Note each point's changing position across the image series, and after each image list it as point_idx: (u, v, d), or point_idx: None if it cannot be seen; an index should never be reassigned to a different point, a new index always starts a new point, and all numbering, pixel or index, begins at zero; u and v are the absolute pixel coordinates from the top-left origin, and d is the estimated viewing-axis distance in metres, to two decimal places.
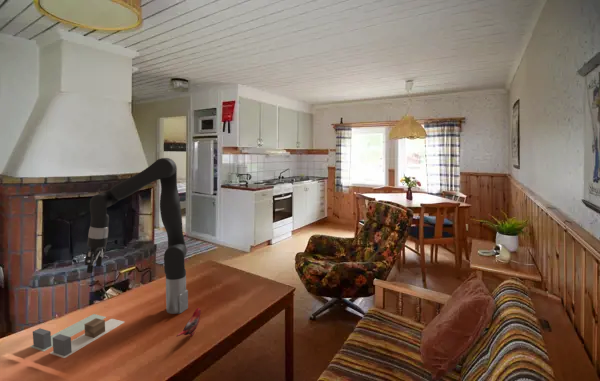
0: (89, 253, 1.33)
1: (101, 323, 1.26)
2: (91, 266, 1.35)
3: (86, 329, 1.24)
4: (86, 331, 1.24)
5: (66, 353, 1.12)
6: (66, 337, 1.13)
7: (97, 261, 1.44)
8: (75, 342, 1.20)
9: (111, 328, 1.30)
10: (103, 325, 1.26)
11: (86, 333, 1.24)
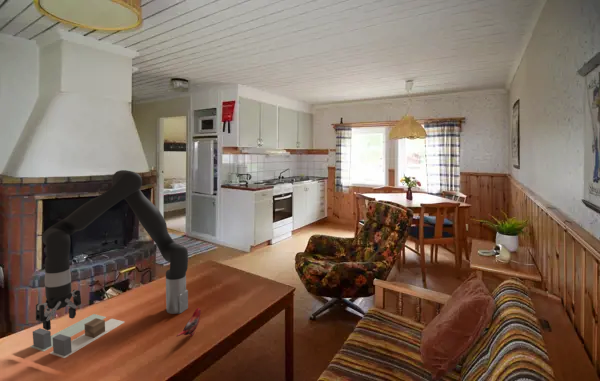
0: (38, 306, 1.05)
1: (101, 323, 1.26)
2: (46, 322, 1.07)
3: (86, 329, 1.24)
4: (86, 331, 1.24)
5: (66, 353, 1.12)
6: (66, 337, 1.13)
7: (69, 312, 1.16)
8: (75, 342, 1.20)
9: (111, 328, 1.30)
10: (103, 325, 1.26)
11: (86, 333, 1.24)
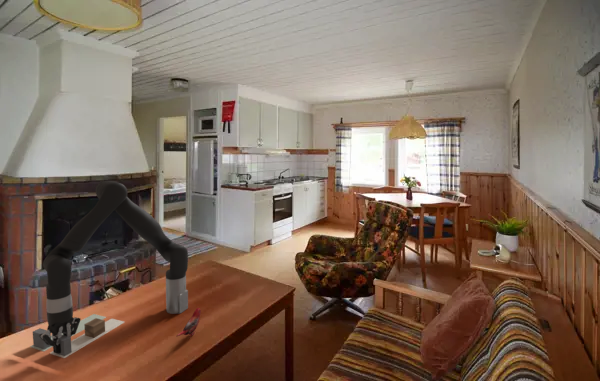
0: (42, 337, 1.06)
1: (101, 323, 1.26)
2: (56, 346, 1.11)
3: (86, 329, 1.24)
4: (86, 331, 1.24)
5: (66, 353, 1.12)
6: (66, 337, 1.13)
7: None
8: (75, 342, 1.20)
9: (111, 328, 1.30)
10: (103, 325, 1.26)
11: (86, 333, 1.24)
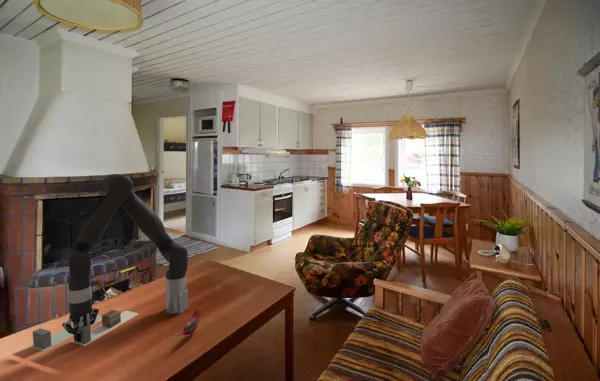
0: (64, 325, 1.14)
1: (117, 314, 1.33)
2: (77, 334, 1.18)
3: (103, 320, 1.31)
4: (103, 322, 1.31)
5: (86, 341, 1.19)
6: (86, 326, 1.20)
7: None
8: (93, 332, 1.27)
9: (126, 319, 1.37)
10: (119, 316, 1.34)
11: (103, 323, 1.31)
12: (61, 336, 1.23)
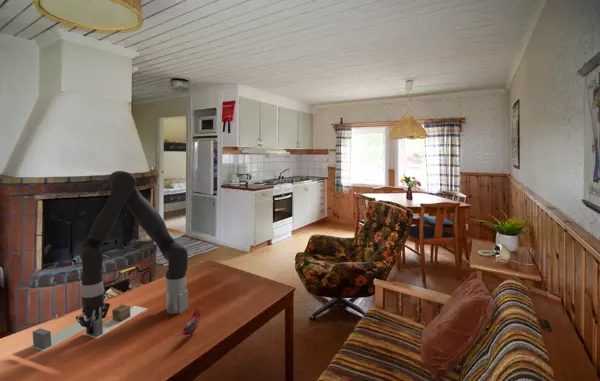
0: (78, 318, 1.18)
1: (127, 309, 1.38)
2: (90, 327, 1.23)
3: (114, 314, 1.36)
4: (114, 316, 1.36)
5: (98, 334, 1.24)
6: (98, 320, 1.25)
7: None
8: (104, 325, 1.32)
9: (135, 314, 1.42)
10: (129, 311, 1.39)
11: (114, 318, 1.36)
12: (61, 336, 1.23)
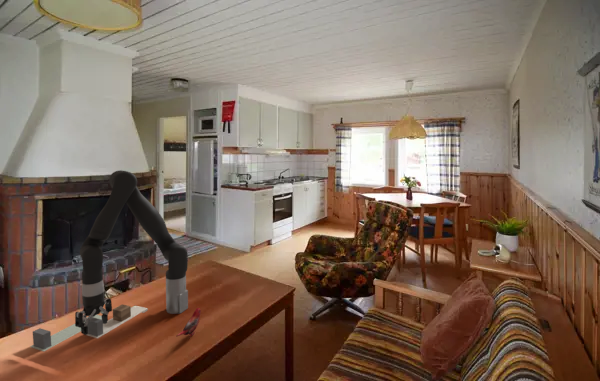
0: (77, 314, 1.18)
1: (127, 308, 1.38)
2: (84, 327, 1.20)
3: (114, 314, 1.36)
4: (114, 315, 1.36)
5: (99, 334, 1.24)
6: (98, 320, 1.25)
7: (102, 318, 1.29)
8: (105, 325, 1.32)
9: (136, 313, 1.42)
10: (129, 310, 1.39)
11: (114, 317, 1.36)
12: (61, 336, 1.23)
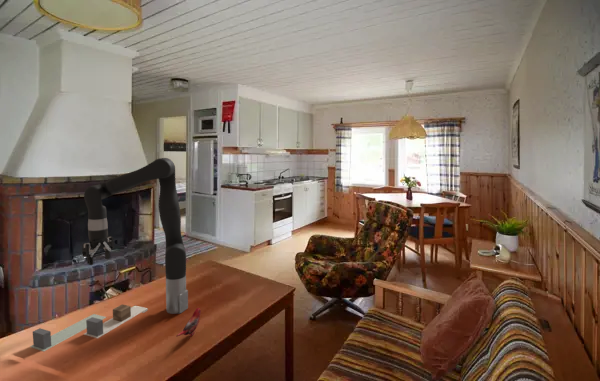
0: (84, 245, 1.33)
1: (127, 308, 1.38)
2: (90, 258, 1.35)
3: (114, 314, 1.36)
4: (114, 315, 1.36)
5: (99, 334, 1.24)
6: (98, 320, 1.25)
7: (105, 254, 1.44)
8: (105, 325, 1.32)
9: (136, 313, 1.42)
10: (129, 310, 1.39)
11: (114, 317, 1.36)
12: (61, 336, 1.23)
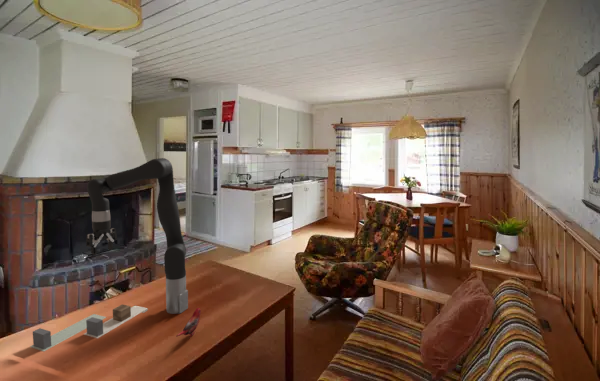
0: (88, 235, 1.40)
1: (127, 308, 1.38)
2: (93, 248, 1.42)
3: (114, 314, 1.36)
4: (114, 315, 1.36)
5: (99, 334, 1.24)
6: (98, 320, 1.25)
7: (108, 244, 1.51)
8: (105, 325, 1.32)
9: (136, 313, 1.42)
10: (129, 310, 1.39)
11: (114, 317, 1.36)
12: (61, 336, 1.23)
